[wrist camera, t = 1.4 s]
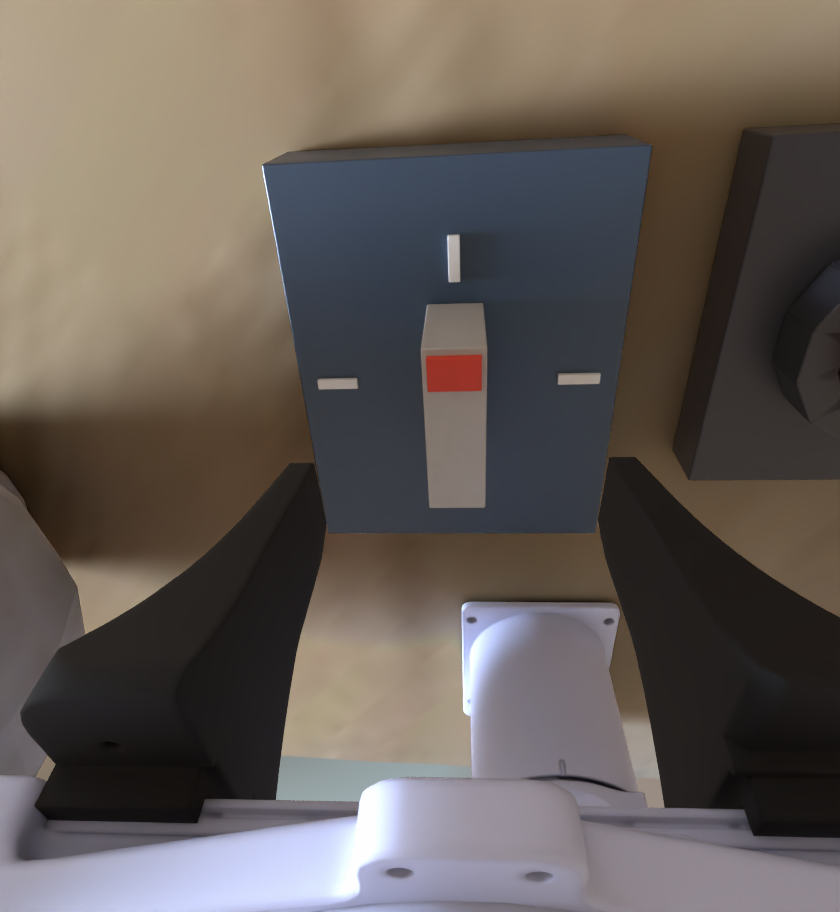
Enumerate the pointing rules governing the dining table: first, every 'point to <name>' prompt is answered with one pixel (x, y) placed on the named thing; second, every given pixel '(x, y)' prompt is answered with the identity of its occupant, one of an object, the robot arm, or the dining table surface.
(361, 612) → the dining table surface
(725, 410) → the button base
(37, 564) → the flower arrangement
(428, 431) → the grey rectangular block
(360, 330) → the dial panel
